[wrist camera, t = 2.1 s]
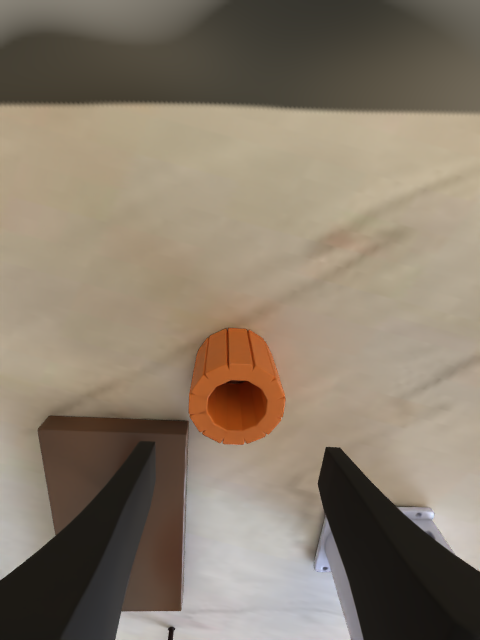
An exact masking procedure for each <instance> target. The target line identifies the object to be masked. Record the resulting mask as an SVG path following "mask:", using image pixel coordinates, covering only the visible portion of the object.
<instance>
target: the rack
mask: <svg viewBox="0 0 480 640" xmlns="http://www.w3.org/2000/svg"><path fill="white" fill-rule="evenodd" d="M188 432H189V421H172V420H146V419H120V418H94V417H68V416H48V418H47V419H46V420H45V421H44V422H43V423H42V425H41V426H40V427H39V428H38V436H39V442H40V448H41V453H42V459H43V465H44V471H45V477H46V482H47V488H48V494H49V500H50V506H51V511H52V517H53V523H54V529H55V535H57V534H58V533H59V532H60V531H61V530H62V529H64V528H65V527H66V526H67V525H68V524H69V523H70V522H71V521H72V520H73V519H74V518H75V517H76V516H77V515H78V514H79V513H80V512H81V511H82V510H83V509H84V508H85V507H86V506H87V505H88V504H89V503H90V502H91V501H92V500H93V498H94V497H95V496H96V495H97V494H98V493H99V492H100V491H101V490H102V489H103V487H104V486H105V485H106V484H107V483H108V482H109V480H110V479H111V478H112V477H113V475H114V474H115V473H116V472H117V471H118V469H119V468H120V467H121V466H122V464H123V463H124V462H125V460H126V459H127V458H128V456H129V455H130V454H131V452H132V451H133V449H134V448H135V446H136V445H137V444H138V443H139V442H140V441H152V442H155V450H156V482H155V487H154V492H153V497H152V502H151V506H150V510H149V513H148V516H147V520H146V523H145V526H144V529H143V533H142V536H141V539H140V542H139V546H138V549H137V552H136V555H135V559H134V562H133V565H132V568H131V572H130V576H129V579H128V583H127V588H126V592H125V597H124V601H123V605H122V610H121V611H181V609H182V600H183V586H184V555H185V524H186V493H187V463H188Z"/></svg>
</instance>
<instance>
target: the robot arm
mask: <svg viewBox="0 0 480 640" xmlns="http://www.w3.org/2000/svg"><path fill="white" fill-rule="evenodd" d="M155 482H156V450H155V442H152V441H140V442H139V443H138V444H137V445H136V446H135V448H134V449H133V451H132V452H131V454H130V455H129V456H128V458H127V459H126V460H125V462H124V463H123V464H122V466H121V467H120V468H119V469H118V471H117V472H116V473H115V474H114V475H113V477H112V478H111V479H110V480H109V482H108V483H107V484H106V485H105V486H104V487H103V489H102V490H101V491H100V492H99V493H98V494H97V495H96V496H95V497H94V498H93V500H92V501H91V502H90V503H89V504H88V505H87V506H86V507H85V508H84V509H83V510H82V511H81V512H80V513H79V514H78V515H77V516H76V517H75V518H74V519H73V520H72V521H71V522H70V523H69V524H68V525H67V526H66V527H65V528H64V529H62V530H61V531H60V532H59V533H58V534H57V535H56V536H55V537H54V538H52V539H51V540H50V541H49V542H48V543H47V544H46V545H44V546H43V547H42V548H41V549H40V550H39V551H37V552H36V553H35V554H34V555H32V556H31V557H30V558H29V559H27V560H26V561H25V562H24V563H22V564H21V565H20V566H18V567H17V568H16V569H15V570H13V571H12V572H11V573H10V574H8V575H7V576H6V577H4V578H3V579H2V580H0V640H115V638H116V633H117V628H118V624H119V619H120V614H121V610H122V605H123V601H124V597H125V592H126V588H127V583H128V579H129V576H130V572H131V568H132V565H133V562H134V559H135V555H136V552H137V549H138V546H139V542H140V539H141V536H142V533H143V529H144V526H145V523H146V520H147V516H148V513H149V510H150V506H151V502H152V497H153V492H154V487H155ZM318 487H319V491H320V496H321V500H322V504H323V509H324V512H325V515H326V516H325V520H324V524H323V528H322V532H321V536H320V540H319V544H318V548H317V552H316V557H315V561H314V569H315V571H317V572H332V576H333V579H334V583H335V586H336V590H337V593H338V596H339V600H340V603H341V607H342V610H343V613H344V617H345V620H346V624H347V627H348V631H349V634H350V637H351V640H480V572H479V571H478V570H476V569H475V568H473V567H472V566H470V565H469V564H467V563H466V562H464V561H463V560H462V559H460V558H459V557H457V556H456V555H455V553H454V552H453V550H452V549H451V547H450V546H449V544H448V543H447V541H446V540H445V538H444V537H443V535H442V534H441V532H440V531H439V529H438V528H437V526H436V525H435V523H434V522H433V517H434V515H435V513H434V511H433V510H432V509H431V508H428V507H396V506H395V505H394V504H393V503H392V502H391V501H390V500H389V499H388V498H387V497H386V496H385V495H384V494H383V493H382V492H381V491H380V490H379V489H378V488H377V487H376V486H375V485H374V484H373V483H372V482H371V481H370V480H369V479H368V478H367V477H366V476H365V475H364V474H363V472H362V471H361V470H360V469H359V468H358V467H357V466H356V465H355V464H354V463H353V461H352V460H351V459H350V458H349V457H348V456H347V455H346V454H345V453H344V452H343V451H342V449H341V448H337V447H326V449H325V453H324V458H323V462H322V467H321V471H320V476H319V480H318Z"/></svg>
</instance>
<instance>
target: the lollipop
mask: <svg viewBox="0 0 480 640" xmlns="http://www.w3.org/2000/svg"><path fill="white" fill-rule="evenodd" d="M168 630H169V635H168V640H173V632H174V630H175V628H173V627H170V628H168Z"/></svg>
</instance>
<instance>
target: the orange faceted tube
mask: <svg viewBox="0 0 480 640" xmlns="http://www.w3.org/2000/svg"><path fill="white" fill-rule="evenodd" d="M230 380H241V381H244V382H242V383H239V384H235V383H226V382H228V381H230ZM285 400H286V399H285V394H284V391H283V388H282V385H281V381H280V378H279V375H278V372H277V369H276V366H275V363H274V360H273V357H272V354H271V352H270V350H269V348H268V346H267V344H266V342H265V341H264V339H263V338H261V337H260V336H258V335H257V334H255V333H253V332H252V331H250V330H248V331H247V329H238V328H228V331H227V329H223V330H221V331H219V332H217V333H215V334H212V335H210V337H209V338H207V339H206V340H205V342H204V343H203V345H202V346H201V347H200V349H199V350H198V353H197V357H196V362H195V367H194V372H193V377H192V383H191V388H190V393H189V414H190V418H191V420H192V421H193V423H194V424H195V426H196V427H197V429H198V430H199V432H202V431H203V432H202V434H203V435H205V436H207V437H209V438H211V439H213V440H215V441H217V442H219V443H221V441H222V440H223V444H237V445H243V444H244V442H246V443H247V444H248V443H251V442H253V441H256V440H258V439H261V438H263V437H265V436H266V434H270V433H271V431H272V430H273V429H274V428H275V427H276V426H277V424H278V423H279V422H280V421H281V417H283V413H284V406H285Z"/></svg>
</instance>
